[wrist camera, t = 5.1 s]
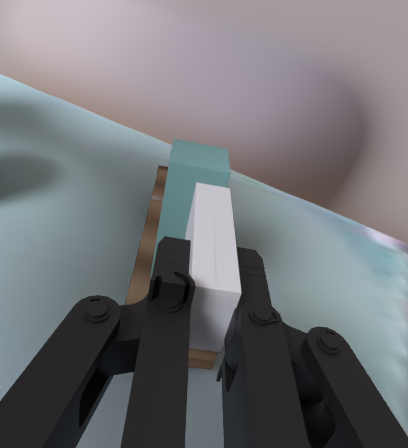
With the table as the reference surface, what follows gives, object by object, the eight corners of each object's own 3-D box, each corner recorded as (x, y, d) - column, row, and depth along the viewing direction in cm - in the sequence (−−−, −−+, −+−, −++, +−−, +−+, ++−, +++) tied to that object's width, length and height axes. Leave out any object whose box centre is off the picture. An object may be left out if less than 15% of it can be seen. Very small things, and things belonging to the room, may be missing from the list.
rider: (196, 298, 31) (230, 173, 24) (147, 290, 30) (169, 161, 24) (197, 266, 34) (227, 149, 28) (153, 259, 33) (174, 138, 27)
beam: (206, 388, 28) (223, 340, 25) (111, 376, 27) (116, 325, 24) (206, 206, 50) (215, 168, 47) (154, 196, 49) (160, 158, 46)
